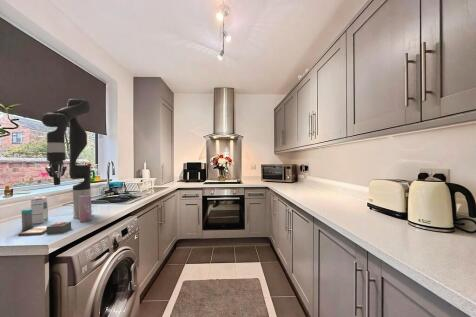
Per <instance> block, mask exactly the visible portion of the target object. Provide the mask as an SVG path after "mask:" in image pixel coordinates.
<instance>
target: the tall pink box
mask: <svg viewBox="0 0 476 317" xmlns="http://www.w3.org/2000/svg"><path fill="white" fill-rule="evenodd" d="M92 217H93V216H92V195H80V196H79V218H78V220H79V223H87V222H90V221H92V220H93V219H92Z"/></svg>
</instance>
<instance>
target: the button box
mask: <svg viewBox="0 0 476 317" xmlns="http://www.w3.org/2000/svg"><path fill="white" fill-rule="evenodd" d="M63 222H64V224H63V225H57V226H54V224H55V223H56V222H55V223H52V224H50V225H46V226H47V232H46V235H49V234H50V235H51V234H63V233H65V232H67V231H70V230H71V229H72V221H63Z"/></svg>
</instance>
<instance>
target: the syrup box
mask: <svg viewBox="0 0 476 317" xmlns="http://www.w3.org/2000/svg"><path fill="white" fill-rule="evenodd" d="M48 208H49V207H48V196H35V197H33V198H30V209H33V212H32V219H33V224H41V223H45V222H46V221H48V220H49V214H48V213H49V211H48Z"/></svg>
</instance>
